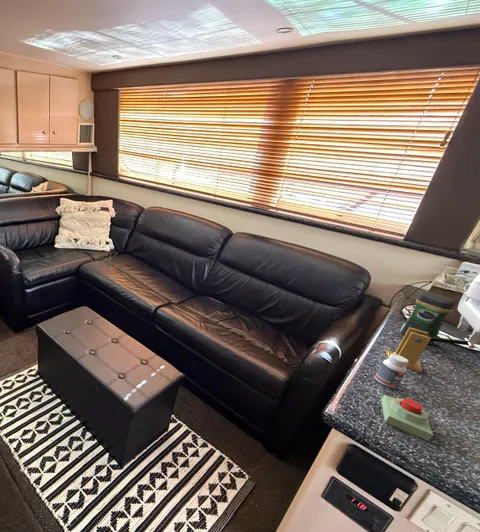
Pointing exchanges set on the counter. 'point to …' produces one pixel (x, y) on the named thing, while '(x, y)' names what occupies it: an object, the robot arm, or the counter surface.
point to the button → (411, 406)
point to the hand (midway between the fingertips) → (466, 336)
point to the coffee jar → (429, 314)
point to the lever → (451, 341)
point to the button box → (406, 418)
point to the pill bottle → (392, 371)
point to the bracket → (412, 348)
